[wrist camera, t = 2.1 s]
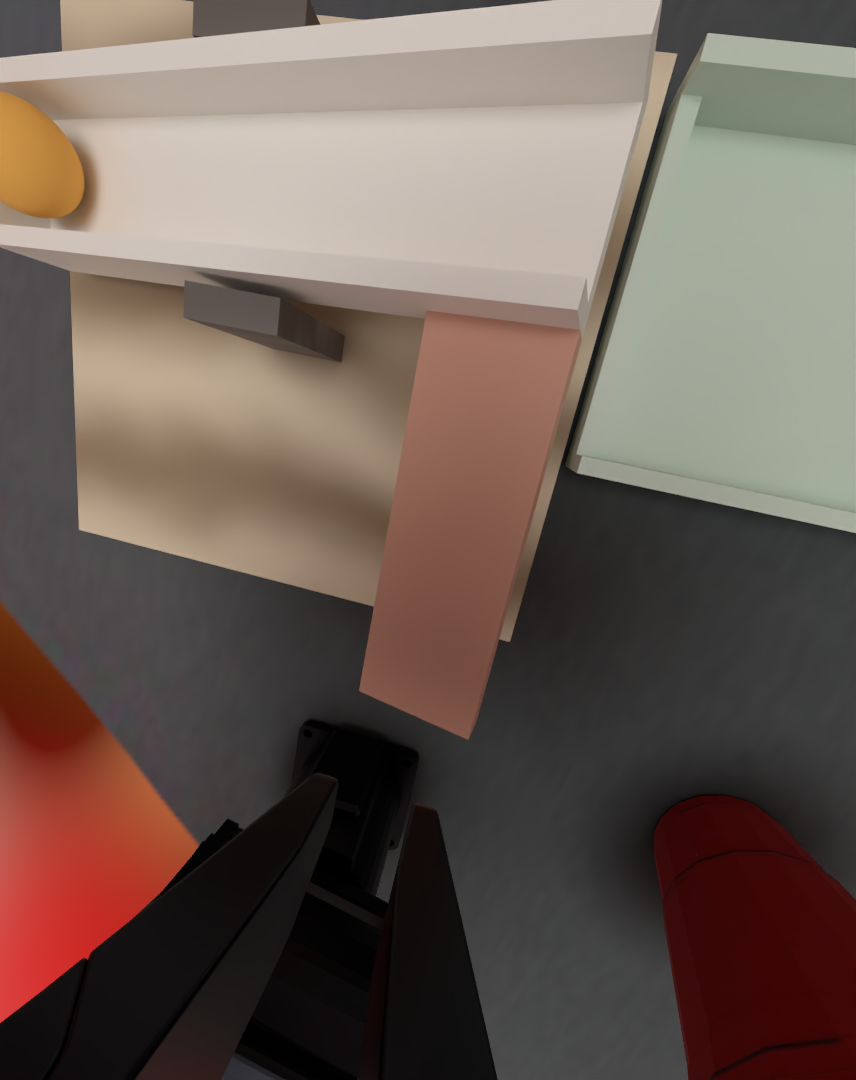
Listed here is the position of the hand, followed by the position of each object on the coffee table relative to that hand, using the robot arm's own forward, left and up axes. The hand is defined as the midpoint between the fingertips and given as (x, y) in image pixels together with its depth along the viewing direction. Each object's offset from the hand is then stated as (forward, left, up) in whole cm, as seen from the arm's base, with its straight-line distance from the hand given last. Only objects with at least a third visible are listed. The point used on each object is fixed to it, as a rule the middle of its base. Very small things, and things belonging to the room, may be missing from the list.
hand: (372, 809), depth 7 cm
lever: (+6, +8, -9) cm, 13 cm away
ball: (+11, +16, -8) cm, 21 cm away
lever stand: (+8, +8, -13) cm, 17 cm away
